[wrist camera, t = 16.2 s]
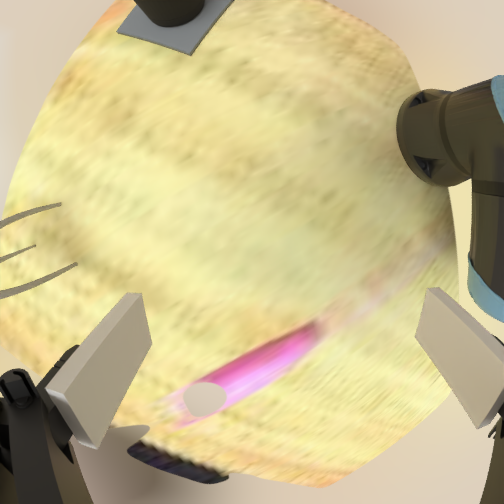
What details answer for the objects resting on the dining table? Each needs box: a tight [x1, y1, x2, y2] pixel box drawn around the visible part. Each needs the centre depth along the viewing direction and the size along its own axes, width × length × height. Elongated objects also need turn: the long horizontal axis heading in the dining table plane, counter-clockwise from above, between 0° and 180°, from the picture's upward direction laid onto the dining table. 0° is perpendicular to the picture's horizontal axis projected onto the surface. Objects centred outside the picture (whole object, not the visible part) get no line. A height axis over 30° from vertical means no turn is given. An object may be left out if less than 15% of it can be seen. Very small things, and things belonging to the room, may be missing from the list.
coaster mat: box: [116, 0, 234, 56], centre depth 29 cm, size 14×14×1 cm
